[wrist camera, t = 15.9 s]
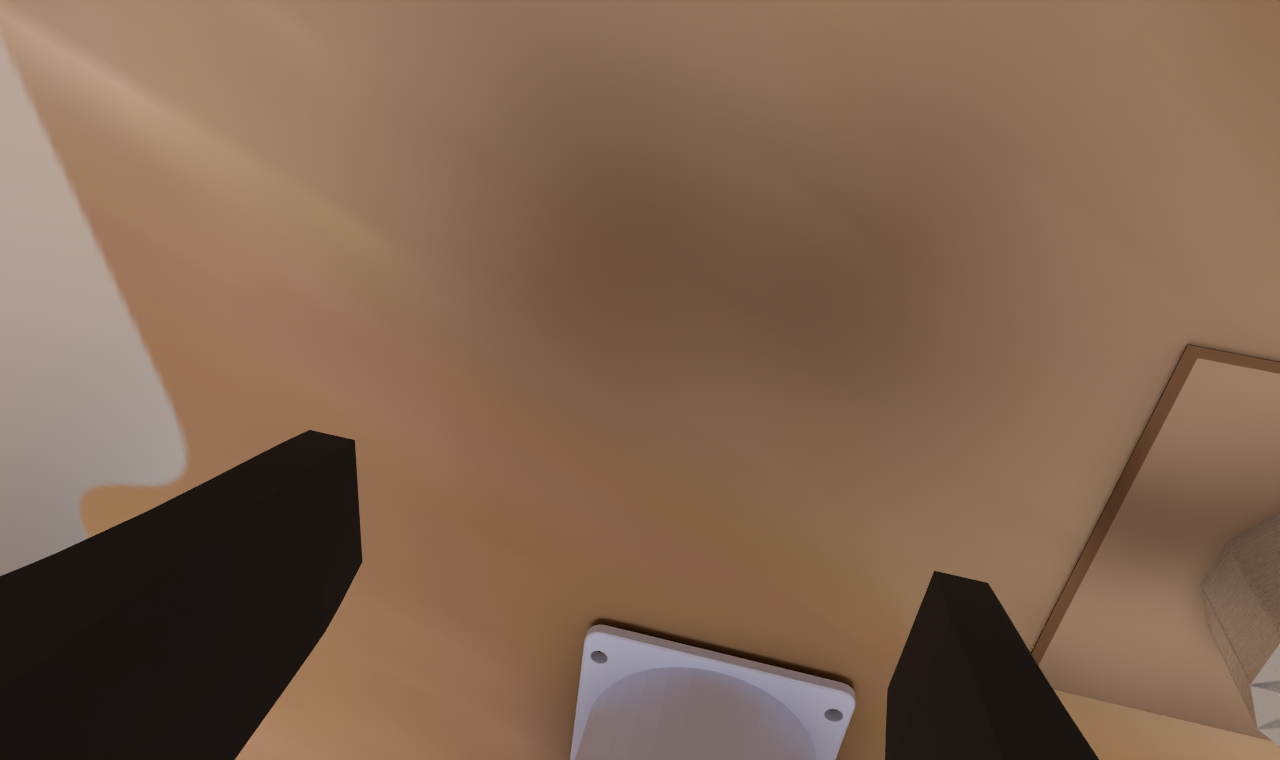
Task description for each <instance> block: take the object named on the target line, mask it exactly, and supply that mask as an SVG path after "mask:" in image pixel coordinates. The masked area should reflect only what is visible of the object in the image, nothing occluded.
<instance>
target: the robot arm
mask: <svg viewBox="0 0 1280 760" xmlns="http://www.w3.org/2000/svg"><path fill="white" fill-rule="evenodd" d="M361 563H362V550H361V533H360V517H359V501H358V485H357V468H356V452H355V440H352V439H347V438H343V437H338V436H334V435H330V434H325V433H321V432H316V431H312V430H309V431H307V432H305V433H302V434H300V435H298V436H296V437H293V438H291V439H289V440H287V441H285V442H283V443H281V444H279V445H277V446H275V447H273V448H271V449H269V450H267V451H265V452H263V453H261V454H259V455H257V456H255V457H253V458H252V459H250V460H248V461H246V462H244V463H242V464H240V465H238V466H236V467H234V468H232V469H230V470H228V471H226V472H224V473H222V474H221V475H219V476H217V477H215V478H213V479H211V480H209V481H207V482H205V483H203V484H201V485H199V486H197V487H195V488H193V489H191V490H189V491H187V492H185V493H183V494H181V495H179V496H177V497H175V498H173V499H171V500H169V501H167V502H165V503H163V504H161V505H159V506H157V507H155V508H153V509H151V510H149V511H147V512H145V513H143V514H141V515H138V516H136V517H134V518H132V519H130V520H127V521H125V522H123V523H121V524H119V525H117V526H114V527H112V528H110V529H108V530H106V531H104V532H101V533H99V534H97V535H95V536H93V537H90V538H88V539H86V540H84V541H82V542H80V543H77V544H75V545H73V546H71V547H69V548H66V549H65V550H62V551H60V552H58V553H56V554H54V555H51V556H49V557H46V558H44V559H41V560H39V561H37V562H34V563H32V564H29V565H27V566H25V567H22V568H20V569H17V570H15V571H12V572H10V573H7V574H5V575H3V576H0V760H235V758H236V757H237V756H238V754H239V753H240V751H241V750H242V749H243V747H244V746H245V744H246V743H247V742H248V740H249V739H250V737H251V736H252V735H253V733H254V732H255V730H256V729H257V728H258V726H259V725H260V723H261V722H262V721H263V719H264V718H265V716H266V715H267V714H268V712H269V711H270V709H271V708H272V707H273V705H274V704H275V702H276V701H277V700H278V698H279V697H280V695H281V694H282V693H283V691H284V690H285V688H286V687H287V686H288V684H289V683H290V681H291V680H292V678H293V677H294V676H295V674H296V673H297V671H298V670H299V669H300V667H301V666H302V664H303V663H304V661H305V660H306V659H307V657H308V656H309V654H310V653H311V651H312V650H313V649H314V647H315V646H316V644H317V643H318V641H319V640H320V638H321V637H322V635H323V634H324V633H325V631H326V629H327V627H328V626H329V624H330V622H331V620H332V618H333V617H334V615H335V613H336V611H337V609H338V608H339V606H340V604H341V602H342V600H343V598H344V596H345V595H346V593H347V591H348V589H349V587H350V585H351V583H352V581H353V579H354V577H355V575H356V573H357V571H358V569H359V567H360V565H361ZM597 651H601V652H603V653H605V654H602V653H599V652H597ZM830 709H836V710H837V711H835V710H830ZM854 709H855V692H854V690H853V689H852V688H851V687H850V686H849V685H847V684H844V683H842V682H838V681H833V680H829V679H825V678H821V677H817V676H813V675H809V674H805V673H801V672H796V671H792V670H788V669H784V668H780V667H776V666H772V665H768V664H763V663H759V662H755V661H751V660H747V659H743V658H739V657H735V656H731V655H726V654H722V653H718V652H714V651H710V650H706V649H702V648H698V647H693V646H689V645H685V644H681V643H677V642H673V641H669V640H665V639H661V638H656V637H652V636H648V635H644V634H640V633H636V632H632V631H628V630H623V629H619V628H615V627H611V626H607V625H594V626H592V627H591V628H589V630H588V632H587V635H586V638H585V641H584V649H583V658H582V666H581V674H580V682H579V690H578V698H577V707H576V715H575V723H574V731H573V739H572V747H571V756H570V760H836V757H837V754H838V751H839V749H840V746H841V743H842V741H843V738H844V735H845V733H846V730H847V727H848V725H849V722H850V719H851V717H852V714H853V711H854ZM885 760H1099V759H1098V757H1097V756H1096V754H1095V753H1094V751H1093V750H1092V748H1091V747H1090V745H1089V744H1088V742H1087V741H1086V739H1085V738H1084V736H1083V735H1082V733H1081V732H1080V730H1079V729H1078V727H1077V726H1076V724H1075V722H1074V721H1073V719H1072V718H1071V716H1070V715H1069V713H1068V712H1067V710H1066V709H1065V707H1064V706H1063V704H1062V703H1061V701H1060V699H1059V698H1058V696H1057V695H1056V693H1055V692H1054V690H1053V688H1052V687H1051V685H1050V684H1049V682H1048V680H1047V679H1046V677H1045V675H1044V674H1043V672H1042V671H1041V669H1040V667H1039V666H1038V664H1037V663H1036V661H1035V659H1034V658H1033V656H1032V654H1031V653H1030V651H1029V649H1028V648H1027V646H1026V645H1025V643H1024V641H1023V640H1022V638H1021V636H1020V635H1019V633H1018V631H1017V630H1016V628H1015V626H1014V625H1013V623H1012V621H1011V620H1010V618H1009V616H1008V615H1007V613H1006V611H1005V610H1004V608H1003V606H1002V605H1001V603H1000V602H999V600H998V598H997V597H996V595H995V594H994V592H993V590H992V589H991V587H990V586H989V584H988V583H986V582H981V581H977V580H972V579H968V578H963V577H959V576H955V575H950V574H946V573H941V572H937V571H934V573H933V576H932V578H931V581H930V583H929V586H928V588H927V591H926V593H925V596H924V598H923V601H922V603H921V606H920V609H919V611H918V614H917V616H916V619H915V621H914V624H913V626H912V629H911V631H910V634H909V636H908V639H907V641H906V644H905V646H904V649H903V652H902V654H901V657H900V659H899V662H898V664H897V667H896V669H895V672H894V674H893V677H892V679H891V682H890V684H889V687H888V693H887V718H886V750H885Z"/></svg>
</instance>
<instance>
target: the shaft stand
mask: <svg viewBox="0 0 1280 760" xmlns="http://www.w3.org/2000/svg"><path fill="white" fill-rule="evenodd" d="M1278 512H1280V362H1275V361H1270V360H1264V359H1259V358H1254V357H1249V356H1243V355H1238V354H1233V353H1228V352H1222V351H1217V350H1212V349H1207V348H1201V347H1196V346H1191V345H1188V346H1187V348H1186V350H1185V352H1184V354H1183V356H1182V358H1181V359H1180V361H1179V363H1178V365H1177V367H1176V369H1175V371H1174V373H1173V375H1172V377H1171V379H1170V381H1169V383H1168V385H1167V387H1166V389H1165V391H1164V393H1163V395H1162V397H1161V399H1160V401H1159V403H1158V405H1157V407H1156V409H1155V411H1154V413H1153V415H1152V417H1151V419H1150V421H1149V423H1148V425H1147V427H1146V429H1145V431H1144V433H1143V435H1142V437H1141V438H1140V440H1139V442H1138V444H1137V446H1136V448H1135V450H1134V452H1133V454H1132V456H1131V458H1130V460H1129V462H1128V464H1127V466H1126V468H1125V470H1124V472H1123V474H1122V476H1121V478H1120V480H1119V482H1118V484H1117V486H1116V488H1115V490H1114V492H1113V494H1112V496H1111V498H1110V500H1109V502H1108V504H1107V506H1106V508H1105V510H1104V512H1103V514H1102V515H1101V517H1100V519H1099V521H1098V523H1097V525H1096V527H1095V529H1094V531H1093V533H1092V535H1091V537H1090V539H1089V541H1088V543H1087V545H1086V547H1085V549H1084V551H1083V553H1082V555H1081V557H1080V559H1079V561H1078V563H1077V565H1076V567H1075V569H1074V571H1073V573H1072V575H1071V577H1070V579H1069V581H1068V583H1067V585H1066V587H1065V589H1064V591H1063V592H1062V594H1061V596H1060V598H1059V600H1058V602H1057V604H1056V606H1055V608H1054V610H1053V612H1052V614H1051V616H1050V618H1049V620H1048V622H1047V624H1046V626H1045V628H1044V630H1043V632H1042V634H1041V636H1040V638H1039V640H1038V642H1037V644H1036V646H1035V648H1034V650H1033V652H1032V656H1033V658H1034V659H1035V661H1036V663H1037V664H1038V666H1039V667H1040V669H1041V671H1042V672H1043V674H1044V675H1045V677H1046V679H1047V680H1048V682H1049V684H1050V685H1051V687H1052V688H1053V689H1055V690H1059V691H1063V692H1067V693H1071V694H1076V695H1080V696H1084V697H1088V698H1093V699H1097V700H1101V701H1105V702H1109V703H1114V704H1118V705H1122V706H1126V707H1131V708H1135V709H1139V710H1143V711H1147V712H1152V713H1156V714H1160V715H1164V716H1168V717H1173V718H1177V719H1181V720H1185V721H1190V722H1194V723H1198V724H1202V725H1206V726H1211V727H1215V728H1219V729H1223V730H1227V731H1232V732H1236V733H1240V734H1244V735H1249V736H1253V737H1257V738H1261V739H1265V740H1270V741H1272V740H1271V739H1269V738H1268V737H1267V736H1266V735H1264V734H1263V733H1262V732H1261V731H1259V730H1257V728H1256V726H1255V724H1254V722H1253V720H1252V718H1251V716H1250V714H1249V712H1248V709H1247V707H1246V705H1245V703H1244V701H1243V699H1242V697H1241V695H1240V693H1239V691H1238V689H1237V687H1236V685H1235V683H1234V681H1233V679H1232V676H1231V674H1230V672H1229V670H1228V668H1227V666H1226V664H1225V662H1224V660H1223V658H1222V656H1221V654H1220V652H1219V650H1218V648H1217V646H1216V643H1215V641H1214V639H1213V637H1212V635H1211V633H1210V631H1209V629H1208V627H1207V626H1208V625H1207V619H1206V614H1205V608H1204V603H1203V597H1202V592H1201V588H1200V584H1201V583H1202V582H1203V580H1204V578H1205V577H1206V575H1207V574H1208V572H1209V570H1210V569H1211V567H1212V565H1213V564H1214V562H1215V561H1216V559H1217V557H1218V556H1219V554H1220V552H1221V551H1222V549H1223V548H1224V546H1225V544H1226V543H1227V542H1228V541H1230V540H1232V539H1233V538H1235V537H1237V536H1239V535H1240V534H1242V533H1244V532H1245V531H1247V530H1249V529H1251V528H1252V527H1254V526H1256V525H1257V524H1259V523H1261V522H1263V521H1264V520H1266V519H1268V518H1269V517H1271V516H1273V515H1275V514H1276V513H1278Z"/></svg>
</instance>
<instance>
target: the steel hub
mask: <svg viewBox="0 0 1280 760" xmlns="http://www.w3.org/2000/svg"><path fill="white" fill-rule="evenodd" d="M1200 588H1201V592H1202V597H1203V603H1204V608H1205V614H1206V619H1207V625H1208V626H1207V627H1208V629H1209V631H1210V633H1211V635H1212V637H1213V639H1214V641H1215V643H1216V646H1217V648H1218V650H1219V652H1220V654H1221V656H1222V658H1223V660H1224V662H1225V664H1226V666H1227V668H1228V670H1229V672H1230V674H1231V676H1232V679H1233V681H1234V683H1235V685H1236V687H1237V689H1238V691H1239V693H1240V695H1241V697H1242V699H1243V701H1244V703H1245V705H1246V707H1247V709H1248V712H1249V714H1250V716H1251V718H1252V720H1253V722H1254V724H1255V726H1256V728H1257V730H1259V731H1261V732H1262V733H1263V734H1264V735H1266V736H1267V737H1268V738H1269V739H1271V740H1272V741H1273V742H1274V743H1276V744H1277V745H1278V746H1279V747H1280V512H1278V513H1276V514H1275V515H1273V516H1271V517H1269V518H1268V519H1266V520H1264V521H1263V522H1261V523H1259V524H1257V525H1256V526H1254V527H1252V528H1251V529H1249V530H1247V531H1245V532H1244V533H1242V534H1240V535H1239V536H1237V537H1235V538H1233V539H1232V540H1230V541H1228V542H1227V543H1226V544H1225V546H1224V548H1223V549H1222V551H1221V552H1220V554H1219V556H1218V557H1217V559H1216V561H1215V562H1214V564H1213V565H1212V567H1211V569H1210V570H1209V572H1208V574H1207V575H1206V577H1205V578H1204V580H1203V582H1202V583H1201V584H1200Z"/></svg>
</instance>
